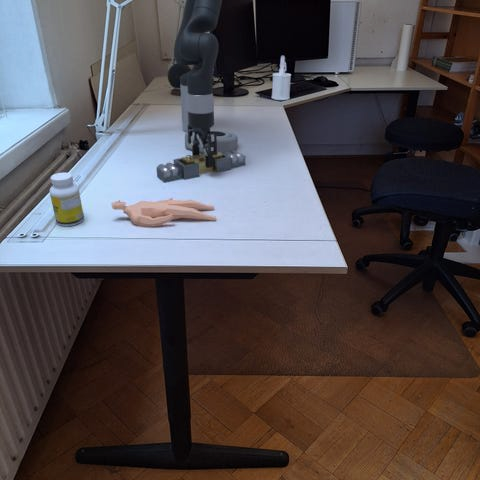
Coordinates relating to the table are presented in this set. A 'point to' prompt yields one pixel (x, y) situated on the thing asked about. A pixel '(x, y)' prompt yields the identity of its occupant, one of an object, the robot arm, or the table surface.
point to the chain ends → (192, 170)
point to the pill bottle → (66, 200)
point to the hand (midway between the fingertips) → (202, 162)
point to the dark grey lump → (177, 77)
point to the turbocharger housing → (218, 141)
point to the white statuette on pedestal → (281, 83)
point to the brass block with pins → (201, 161)
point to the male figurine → (163, 211)
